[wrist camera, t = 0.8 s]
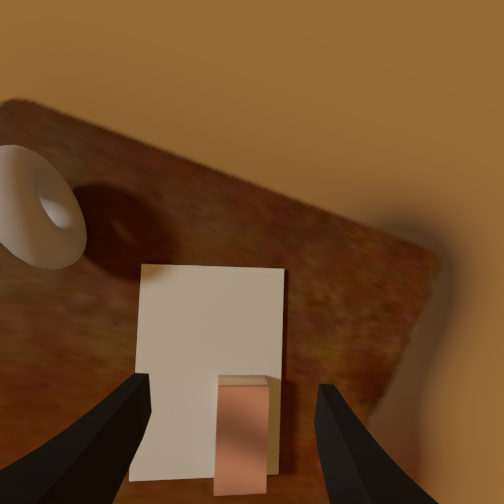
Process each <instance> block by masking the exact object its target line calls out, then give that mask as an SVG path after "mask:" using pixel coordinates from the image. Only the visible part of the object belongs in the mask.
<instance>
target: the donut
mask: <svg viewBox="0 0 504 504" xmlns="http://www.w3.org/2000/svg"><path fill="white" fill-rule="evenodd" d="M86 241H87V233H86V224H85V220H84V217H83V214H82V211H81V208H80V206H79V204H78V201H77V199H76V197H75V196H74V194H73V192H72V190H71V188H70V187H69V185H68V184H67V182H66V181H65V180H64V178H63V177H62V175H61V174H60V173H59V172H58V171H57V170H56V169H55V168H54V167H53V166H52V165H51V164H50V163H49V162H48V161H47V160H46V159H44V158H43V157H42V156H41V155H39V154H38V153H36V152H34V151H31V150H29V149H27V148H24V147H22V146H17V145H6V146H0V242H1V243H2V244H3V245H4V246H5V247H6V248H7V249H8V250H9V251H10V252H12V253H13V254H14V255H15V256H17V257H18V258H20V259H22V260H23V261H25V262H27V263H28V264H30V265H33V266H35V267H40V268H44V269H51V270H55V269H60V268H64V267H67V266H70V265H72V264H74V263H75V262H76V261H77V260H78V259H79V258H80V256H81V255H82V254H83V252H84V250H85V247H86Z"/></svg>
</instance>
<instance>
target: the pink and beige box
mask: <svg viewBox="0 0 504 504" xmlns="http://www.w3.org/2000/svg"><path fill="white" fill-rule="evenodd" d="M268 410H269V385H268V383H267V381H266V378H265V376H264V375H218V389H217V413H216V438H215V463H214V496H221V495H240V494H258V493H266V477H267V444H268Z"/></svg>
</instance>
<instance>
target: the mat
mask: <svg viewBox="0 0 504 504" xmlns="http://www.w3.org/2000/svg"><path fill="white" fill-rule="evenodd" d="M283 293H284V269H272V268H244V267H216V266H187V265H159V264H141V281H140V299H139V316H138V334H137V351H136V369H135V373H149V380H150V394H151V408H152V413H151V416H150V419H149V422H148V425H147V428H146V431H145V434H144V437H143V439H142V441H141V443H140V446H139V448H138V450H137V452H136V454H135V456H134V458H133V460H132V463H131V465H130V473H129V481H146V480H167V479H189V478H210V477H214V463H215V438H216V413H217V389H218V375H264V376H265V378H266V381H267V383H268V385H269V410H268V444H267V475H274V474H279V438H280V401H281V365H282V329H283Z"/></svg>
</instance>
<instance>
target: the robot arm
mask: <svg viewBox="0 0 504 504" xmlns="http://www.w3.org/2000/svg"><path fill="white" fill-rule="evenodd" d="M151 413H152V408H151V394H150V380H149V373H134V374H133V375H132V376H130V377H129V378H128V379H127V380H126V381H124V382H123V383H122V384H121V385H120V386H119V387H118V388H116V389H115V390H114V391H113V392H112V393H111V394H109V395H108V396H107V397H106V398H105V399H104V400H102V401H101V402H100V403H99V404H98V405H96V406H95V407H94V408H93V409H91V410H90V411H89V412H88V413H86V414H85V415H84V416H82V417H81V418H80V419H79V420H77V421H76V422H75V423H73V424H72V425H71V426H69V427H68V428H67V429H65V430H64V431H63V432H61V433H60V434H58V435H57V436H55V437H54V438H52V439H51V440H49V441H48V442H46V443H45V444H43V445H42V446H40V447H39V448H37V449H36V450H34V451H32V452H31V453H29V454H27V455H26V456H24V457H22V458H21V459H19V460H17V461H16V462H14V463H12V464H11V465H9V466H7V467H5V468H4V469H2V470H0V504H112V503H113V501H114V498H115V496H116V494H117V492H118V490H119V488H120V486H121V484H122V481H123V479H124V477H125V475H126V473H127V471H128V469H129V467H130V465H131V463H132V460H133V458H134V456H135V454H136V452H137V450H138V448H139V446H140V443H141V441H142V439H143V437H144V434H145V431H146V428H147V425H148V422H149V419H150V416H151ZM314 425H315V434H316V441H317V449H318V454H319V458H320V462H321V467H322V471H323V475H324V479H325V483H326V488H327V492H328V496H329V500H330V504H438V503H437V502H436V501H435V500H434V499H433V498H432V497H431V496H429V495H428V494H427V493H426V492H425V491H424V490H423V489H422V488H421V487H419V486H418V485H417V484H416V483H415V482H414V481H413V480H412V479H411V478H410V477H409V476H408V475H407V474H406V473H405V472H404V471H403V470H402V469H401V468H400V467H399V466H398V465H397V464H396V463H395V462H394V461H393V460H392V459H391V458H390V457H389V455H388V454H387V453H386V452H385V451H384V450H383V449H382V447H381V446H380V445H379V444H378V443H377V442H376V440H375V439H374V438H373V437H372V436H371V434H370V433H369V432H368V431H367V429H366V428H365V427H364V426H363V424H362V423H361V422H360V420H359V419H358V418H357V416H356V415H355V414H354V412H353V411H352V410H351V408H350V407H349V405H348V404H347V403H346V401H345V400H344V398H343V397H342V395H341V394H340V393H339V391H338V390H337V388H336V387H335V386H334V385H329V384H319V388H318V396H317V404H316V412H315V420H314Z"/></svg>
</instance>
